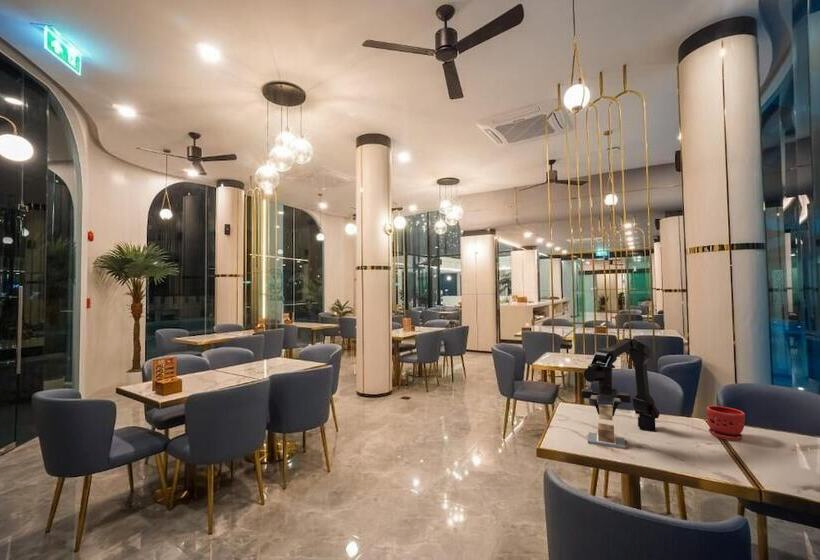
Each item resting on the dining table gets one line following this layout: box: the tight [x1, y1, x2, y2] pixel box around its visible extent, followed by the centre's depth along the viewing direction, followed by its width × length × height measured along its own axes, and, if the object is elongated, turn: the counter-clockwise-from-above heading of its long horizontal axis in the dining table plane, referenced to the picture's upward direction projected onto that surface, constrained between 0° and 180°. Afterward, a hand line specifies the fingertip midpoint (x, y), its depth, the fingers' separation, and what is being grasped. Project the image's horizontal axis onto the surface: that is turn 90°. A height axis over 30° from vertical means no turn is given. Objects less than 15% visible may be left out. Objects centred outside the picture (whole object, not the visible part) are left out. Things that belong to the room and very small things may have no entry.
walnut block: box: [597, 422, 615, 443], centre depth 166 cm, size 6×8×5 cm
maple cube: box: [598, 403, 613, 421], centre depth 166 cm, size 5×5×5 cm
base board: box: [587, 431, 626, 450], centre depth 166 cm, size 14×11×1 cm
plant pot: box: [706, 405, 746, 441], centre depth 170 cm, size 13×13×12 cm
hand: (605, 415), depth 166 cm, fingers closed on maple cube, 5 cm apart
